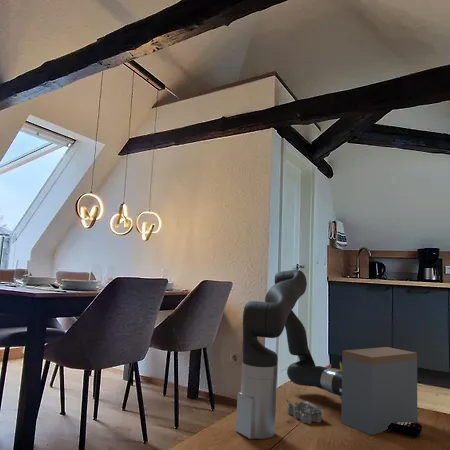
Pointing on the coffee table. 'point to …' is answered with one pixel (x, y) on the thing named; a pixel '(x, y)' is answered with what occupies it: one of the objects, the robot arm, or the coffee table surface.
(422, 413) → the coffee table surface
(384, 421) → the counter
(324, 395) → the coffee table surface
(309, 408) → the egg carton
